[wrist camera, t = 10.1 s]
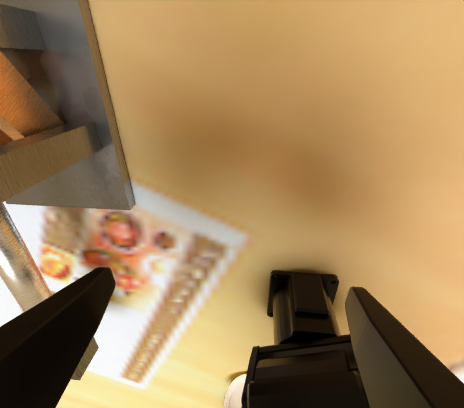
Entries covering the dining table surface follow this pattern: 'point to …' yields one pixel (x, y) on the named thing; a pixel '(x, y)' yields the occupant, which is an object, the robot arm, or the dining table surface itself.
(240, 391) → the spread jar
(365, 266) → the dining table surface
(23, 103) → the block
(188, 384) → the dining table surface
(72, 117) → the bracket
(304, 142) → the dining table surface
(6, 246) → the shaft
